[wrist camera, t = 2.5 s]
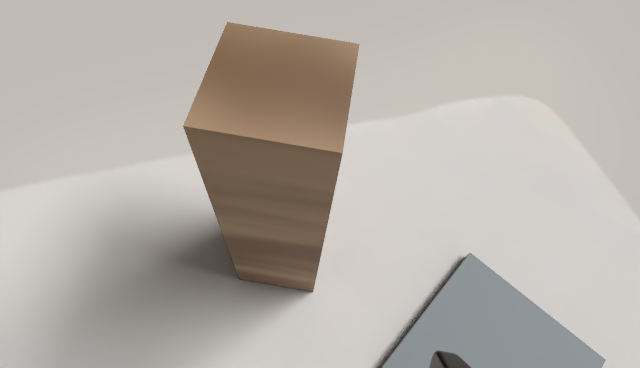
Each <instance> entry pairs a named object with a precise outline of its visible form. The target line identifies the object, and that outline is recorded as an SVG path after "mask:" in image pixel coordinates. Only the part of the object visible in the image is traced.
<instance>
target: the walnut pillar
mask: <svg viewBox="0 0 640 368" xmlns="http://www.w3.org/2000/svg"><path fill="white" fill-rule="evenodd" d="M358 49H359V44H356V43H350V42H343V41H337V40H331V39H325V38H319V37H313V36H307V35H301V34H295V33H289V32H283V31H277V30H271V29H265V28H259V27H253V26H247V25H241V24H234V23H229V22H227V24H226V26H225V29H224V31H223V33H222V36H221V38H220V41H219V43H218V45H217V48H216V50H215V52H214V55H213V57H212V59H211V62H210V64H209V66H208V69H207V71H206V73H205V76H204V78H203V81H202V83H201V86H200V88H199V90H198V92H197V95H196V97H195V99H194V102H193V104H192V106H191V109H190V112H189V114H188V116H187V118H186V121H185V123H184V125H183V127H184V129H185V132H186V135H187V138H188V140H189V143H190V146H191V148H192V151H193V154H194V157H195V160H196V162H197V165H198V168H199V171H200V173H201V176H202V179H203V182H204V184H205V187H206V190H207V193H208V195H209V198H210V201H211V204H212V206H213V209H214V212H215V215H216V217H217V220H218V223H219V226H220V228H221V231H222V234H223V237H224V239H225V242H226V245H227V248H228V250H229V253H230V256H231V259H232V261H233V264H234V267H235V270H236V272H237V275H238V278H239V279H242V280H248V281H253V282H259V283H265V284H270V285H276V286H282V287H288V288H293V289H299V290H305V291H310V292H313V289H314V284H315V280H316V275H317V270H318V266H319V261H320V256H321V251H322V247H323V242H324V237H325V233H326V228H327V223H328V219H329V214H330V209H331V204H332V200H333V195H334V190H335V186H336V181H337V176H338V171H339V167H340V162H341V157H342V152H343V146H344V140H345V133H346V127H347V120H348V113H349V107H350V100H351V94H352V88H353V81H354V75H355V68H356V61H357V56H358Z"/></svg>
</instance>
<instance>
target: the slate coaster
mask: <svg viewBox="0 0 640 368" xmlns="http://www.w3.org/2000/svg"><path fill="white" fill-rule="evenodd" d="M437 350H440V351H446V352H452V353H455V354H457V355H458V356H460V357H461V358H462V359H463V360H464V361H465V362H466V363H467V364H468V365H469V366H470V367H472V368H602V366H603V364H604V362H605V359H604V358H603V357H602V356H600V355H599V354H598V353H596V352H595V351H594V350H593V349H591V348H590V347H589V346H588V345H586V344H585V343H584V342H583V341H581V340H580V339H579V338H578V337H576V336H575V335H574V334H572V333H571V332H570V331H569V330H567V329H566V328H565V327H564V326H562V325H561V324H560V323H559V322H557V321H556V320H555V319H553V318H552V317H551V316H550V315H548V314H547V313H546V312H545V311H543V310H542V309H541V308H540V307H538V306H537V305H536V304H534V303H533V302H532V301H531V300H529V299H528V298H527V297H526V296H524V295H523V294H522V293H521V292H519V291H518V290H517V289H515V288H514V287H513V286H512V285H510V284H509V283H508V282H507V281H505V280H504V279H503V278H502V277H500V276H499V275H498V274H496V273H495V272H494V271H493V270H491V269H490V268H489V267H488V266H486V265H485V264H484V263H483V262H481V261H480V260H479V259H477V258H476V257H475V256H474V255H472V254H471V253H469V254H468V255H467V256H466V257H465V258H464V260H463V261H462V262H461V264H460V265H459V266H458V268H457V269H456V270H455V271H454V273H453V274H452V275H451V277H450V278H449V279H448V281H447V282H446V283H445V284H444V286H443V287H442V288H441V290H440V291H439V292H438V294H437V295H436V296H435V297H434V299H433V300H432V301H431V303H430V304H429V305H428V307H427V308H426V309H425V310H424V312H423V313H422V314H421V316H420V317H419V318H418V320H417V321H416V322H415V323H414V325H413V326H412V327H411V329H410V330H409V331H408V333H407V334H406V335H405V336H404V338H403V339H402V340H401V342H400V343H399V344H398V346H397V347H396V348H395V349H394V351H393V352H392V353H391V355H390V356H389V357H388V359H387V360H386V361H385V362H384V364H383V365H382V366H381V368H429V366H430V362H431V359H432V356H433V354H434V352H435V351H437Z"/></svg>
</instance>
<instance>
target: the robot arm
mask: <svg viewBox="0 0 640 368" xmlns="http://www.w3.org/2000/svg"><path fill="white" fill-rule="evenodd" d="M429 368H472V367H470V366H469V365H468V364H467V363H466V362H465V361H464V360H463V359H462V358H461V357H460V356H458V355H457V354H455V353H452V352H446V351H440V350H437V351H435V352H434V354H433V356H432V359H431V362H430V366H429Z"/></svg>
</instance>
